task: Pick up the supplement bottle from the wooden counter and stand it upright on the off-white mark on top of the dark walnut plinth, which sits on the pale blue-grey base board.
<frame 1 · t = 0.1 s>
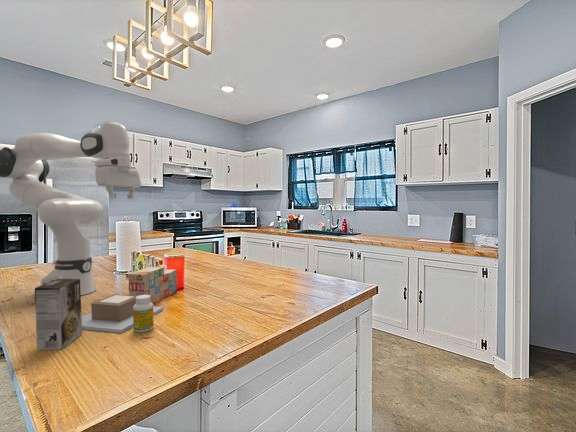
hand: (122, 198, 123), 39 cm above the counter, tool pointing down, fingers open, 8 cm apart
blueprint board: (117, 317, 101), on the counter
supplement bottle: (143, 329, 92), on the counter
coffee box: (60, 342, 83), on the counter
stack of blocks: (155, 299, 121), on the counter
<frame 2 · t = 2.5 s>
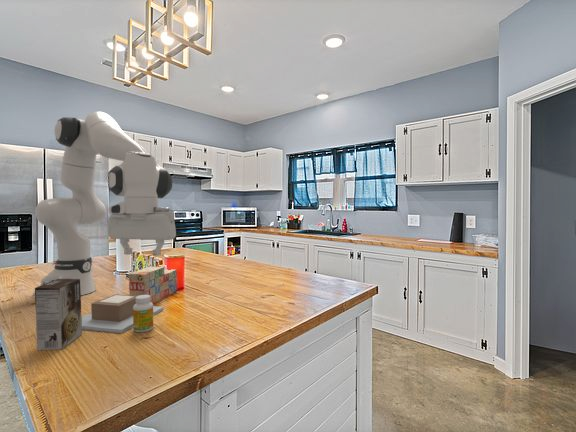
hand: (142, 254, 91), 22 cm above the counter, tool pointing down, fingers open, 8 cm apart
nothing on the counter moved.
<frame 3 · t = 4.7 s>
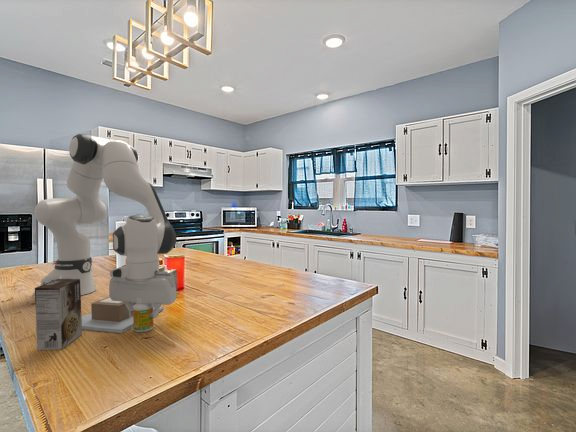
hand: (143, 316, 92), 4 cm above the counter, tool pointing down, fingers closed on supplement bottle, 5 cm apart
supplement bottle: (143, 329, 92), on the counter, touching gripper
everything else where it was.
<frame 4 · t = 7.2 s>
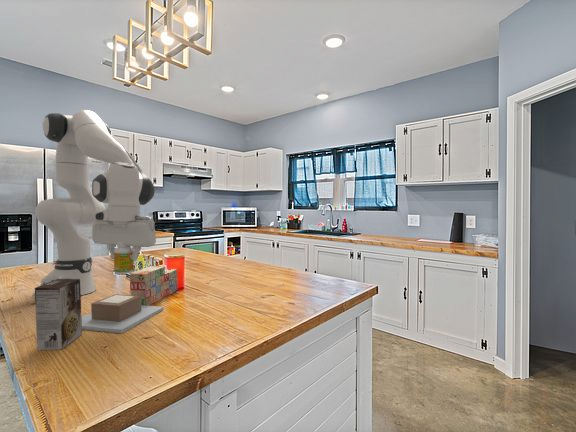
hand: (124, 259, 97), 20 cm above the counter, tool pointing down, fingers closed on supplement bottle, 5 cm apart
supplement bottle: (124, 272, 97), point 15 cm above the counter, touching gripper
everything else where it was.
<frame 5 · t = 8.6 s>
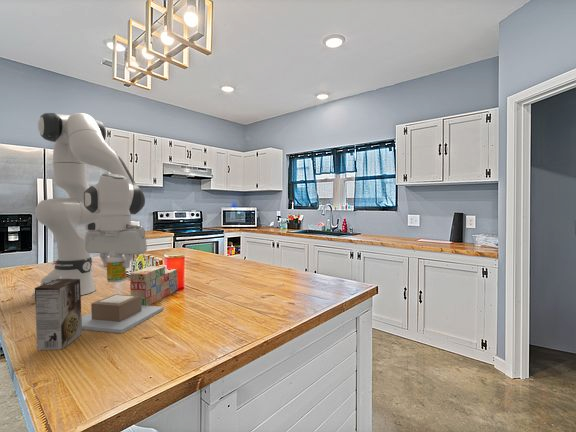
hand: (116, 267, 100), 16 cm above the counter, tool pointing down, fingers closed on supplement bottle, 5 cm apart
supplement bottle: (116, 281, 100), point 12 cm above the counter, touching gripper
everything else where it was.
when the fingers open (11 cm above the counter, at t = 9.9 s): supplement bottle stays where it is, resting on blueprint board.
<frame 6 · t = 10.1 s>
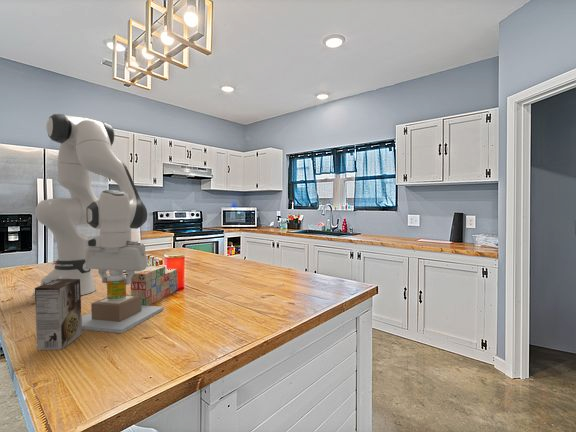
hand: (116, 283, 100), 11 cm above the counter, tool pointing down, fingers open, 7 cm apart
supplement bottle: (117, 299, 100), point 6 cm above the counter, touching blueprint board
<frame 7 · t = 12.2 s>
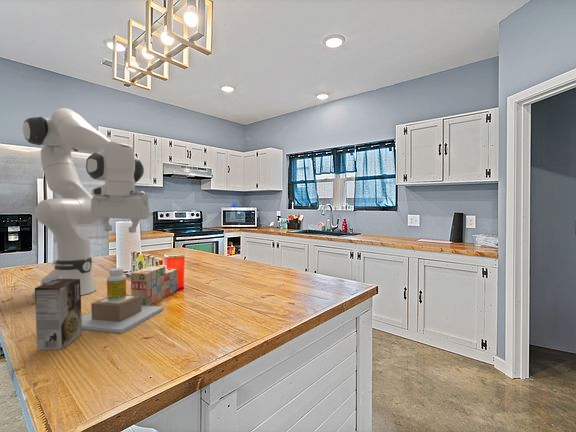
hand: (120, 231, 105), 27 cm above the counter, tool pointing down, fingers open, 8 cm apart
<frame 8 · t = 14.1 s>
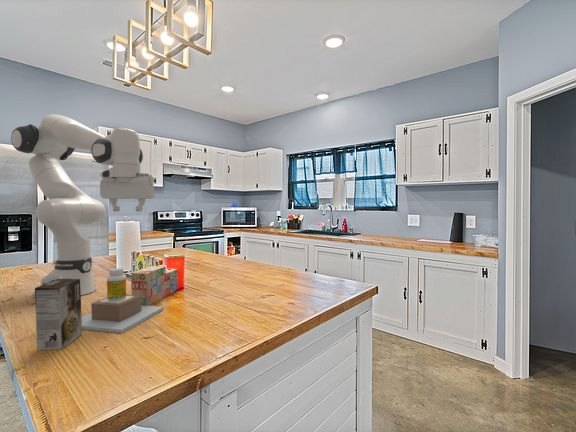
hand: (127, 211, 113), 34 cm above the counter, tool pointing down, fingers open, 8 cm apart
at the end: supplement bottle 0.2 cm off-centre on the blueprint board, point 6.0 cm above the blueprint board's base; supplement bottle tilted 0°; the gripper is holding nothing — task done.
